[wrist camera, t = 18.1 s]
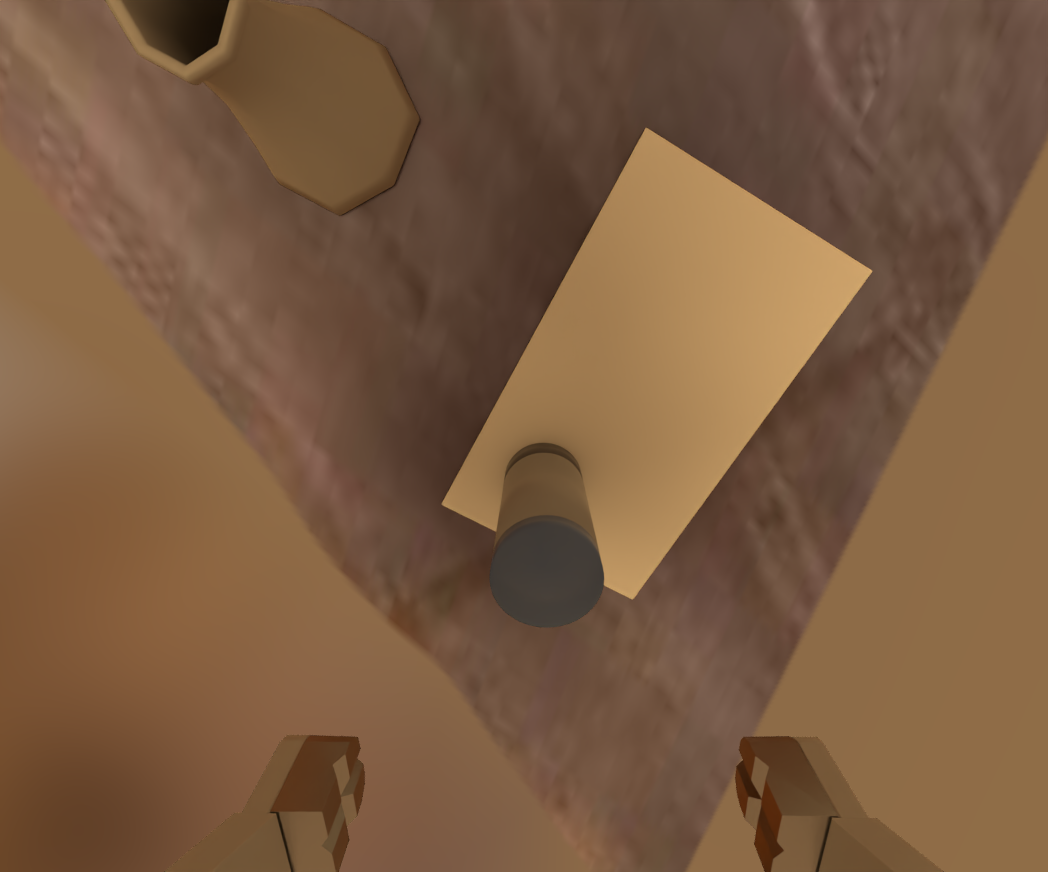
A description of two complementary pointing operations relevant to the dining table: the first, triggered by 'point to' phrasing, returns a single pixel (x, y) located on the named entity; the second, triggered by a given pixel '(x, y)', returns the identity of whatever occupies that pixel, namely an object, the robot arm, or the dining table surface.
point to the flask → (288, 88)
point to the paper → (661, 353)
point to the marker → (545, 540)
